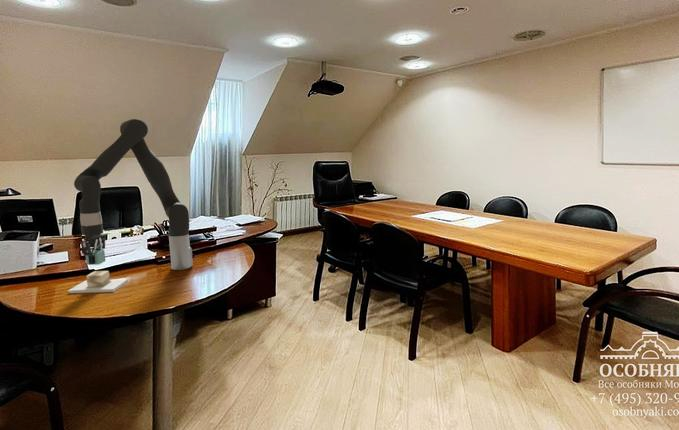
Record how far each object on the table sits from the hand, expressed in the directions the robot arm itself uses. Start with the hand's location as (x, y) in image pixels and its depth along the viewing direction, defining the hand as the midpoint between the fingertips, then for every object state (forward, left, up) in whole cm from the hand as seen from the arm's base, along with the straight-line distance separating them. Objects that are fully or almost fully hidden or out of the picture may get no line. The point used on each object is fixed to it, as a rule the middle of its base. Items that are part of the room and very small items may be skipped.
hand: (96, 261), depth 155 cm
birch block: (0, 0, -10) cm, 10 cm away
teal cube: (0, 0, 0) cm, 0 cm away
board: (0, 0, -11) cm, 11 cm away
